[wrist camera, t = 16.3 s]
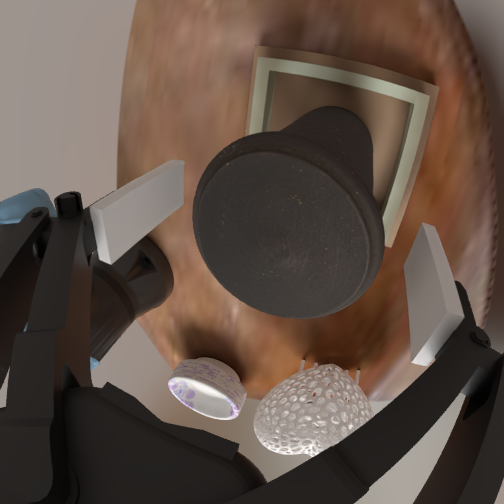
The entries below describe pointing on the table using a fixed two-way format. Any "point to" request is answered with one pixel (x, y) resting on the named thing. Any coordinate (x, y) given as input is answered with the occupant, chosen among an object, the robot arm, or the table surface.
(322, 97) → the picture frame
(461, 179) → the table surface
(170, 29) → the table surface
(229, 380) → the paper bowls
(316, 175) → the container
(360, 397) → the decorative heart
